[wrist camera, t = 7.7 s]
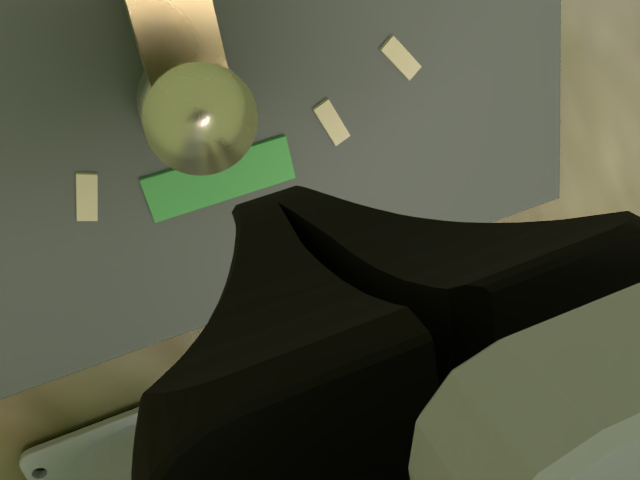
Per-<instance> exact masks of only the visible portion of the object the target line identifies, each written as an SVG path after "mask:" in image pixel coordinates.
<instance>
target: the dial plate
mask: <svg viewBox="0 0 640 480" xmlns="http://www.w3.org/2000/svg"><path fill="white" fill-rule="evenodd" d="M212 1H213V6H214V10H215V14H216V18H217V23H218V27H219V31H220V35H221V40H222V44H223V48H224V53H225V57H226V61H227V65H228V67H229V68H230V69H231V70H232V71H233V72H234V73H235V74H236V75H238V76H239V77H240V78H241V79H242V80H243V81H244V82H245V84H246V85H247V86H248V88H249V89H250V91H251V93H252V95H253V97H254V99H255V102H256V106H257V111H258V127H257V132H256V136H255V138H254V141H253V143H252V145H251V147H250V149H249V150H248V152H247V153H246V154H245V155H244V156H243V158H242V159H241V160H240V161H238V162H237V163H236V164H235V165H233V166H232V167H230V168H228V169H226V170H224V171H222V172H219V173H216V174H211V175H204V176H198V175H189V174H185V173H181V172H179V171H177V170H174V169H172V168H171V167H169V166H167V165H166V164H165V163H164V162H162V161H161V160H160V159H159V158H158V157H157V156H156V154H155V153H154V152H153V150H152V149H151V147H150V145H149V144H148V141H147V139H146V136H145V133H144V130H143V127H142V123H141V120H140V117H139V114H138V110H137V105H136V91H137V86H138V82H139V79H140V77H141V75H142V73H143V72H144V69H143V66H142V63H141V59H140V56H139V53H138V49H137V46H136V43H135V39H134V36H133V33H132V30H131V26H130V23H129V20H128V16H127V13H126V10H125V6H124V3H123V0H0V399H3V398H6V397H8V396H11V395H14V394H17V393H20V392H22V391H25V390H28V389H31V388H33V387H36V386H39V385H42V384H44V383H47V382H50V381H53V380H56V379H58V378H61V377H64V376H67V375H69V374H72V373H75V372H78V371H81V370H83V369H86V368H89V367H92V366H94V365H97V364H100V363H103V362H105V361H108V360H111V359H114V358H117V357H119V356H122V355H125V354H128V353H130V352H133V351H136V350H139V349H142V348H144V347H147V346H150V345H153V344H155V343H158V342H161V341H164V340H167V339H169V338H172V337H175V336H178V335H180V334H183V333H186V332H189V331H191V330H194V329H197V328H200V327H203V326H205V325H207V323H208V321H209V319H210V317H211V315H212V313H213V312H214V310H215V308H216V306H217V304H218V302H219V299H220V297H221V294H222V292H223V289H224V287H225V284H226V281H227V278H228V274H229V270H230V266H231V262H232V258H233V253H234V245H235V236H236V225H235V222H234V218H233V215H232V211H233V209H234V207H235V206H236V205H237V204H240V203H243V202H246V201H249V200H253V199H256V198H259V197H262V196H265V195H268V194H271V193H274V192H277V191H280V190H283V189H287V188H290V187H293V186H296V185H297V186H302V187H306V188H309V189H313V190H316V191H319V192H322V193H325V194H328V195H331V196H334V197H337V198H340V199H343V200H347V201H350V202H353V203H357V204H360V205H364V206H367V207H371V208H375V209H379V210H383V211H388V212H392V213H397V214H401V215H407V216H413V217H420V218H427V219H435V220H443V221H455V222H477V223H491V222H494V221H497V220H499V219H502V218H505V217H508V216H510V215H513V214H516V213H519V212H522V211H524V210H527V209H530V208H533V207H535V206H538V205H541V204H544V203H546V202H549V201H552V200H555V199H558V198H559V182H560V41H561V0H212Z"/></svg>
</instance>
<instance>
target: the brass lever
mask: <svg viewBox="0 0 640 480" xmlns="http://www.w3.org/2000/svg"><path fill="white" fill-rule="evenodd" d="M123 3H124V6H125V10H126V13H127V16H128V20H129V23H130V26H131V30H132V33H133V36H134V39H135V43H136V46H137V49H138V53H139V56H140V59H141V63H142V66H143V69H144V72H143V73H142V75H141V77H140V79H139V82H138V86H137V91H136V105H137V110H138V114H139V117H140V120H141V123H142V127H143V130H144V133H145V136H146V139H147V141H148V144H149V145H150V147H151V149H152V150H153V152H154V153H155V154H156V156H157V157H158V158H159V159H160V160H161V161H162V162H164V163H165V164H166V165H167V166H169V167H171V168H172V169H174V170H177V171H179V172H181V173H185V174H189V175H198V176H204V175H211V174H216V173H219V172H222V171H224V170H226V169H228V168H230V167H232V166H233V165H235V164H236V163H237V162H238V161H240V160H241V159H242V158H243V156H244V155H245V154H246V153H247V152H248V150H249V149H250V147H251V145H252V143H253V141H254V138H255V136H256V132H257V127H258V111H257V106H256V102H255V99H254V97H253V95H252V93H251V91H250V89H249V88H248V86H247V85H246V84H245V82H244V81H243V80H242V79H241V78H240V77H239V76H238V75H236V74H235V73H234V72H233V71H232V70H231V69H230V68H229V67H228V65H227V61H226V57H225V53H224V48H223V44H222V40H221V35H220V31H219V27H218V23H217V18H216V14H215V10H214V6H213V1H212V0H123Z"/></svg>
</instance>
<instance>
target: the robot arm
mask: <svg viewBox="0 0 640 480" xmlns="http://www.w3.org/2000/svg"><path fill="white" fill-rule="evenodd" d="M232 215H233V218H234V222H235V225H236V236H235V245H234V253H233V258H232V262H231V266H230V270H229V274H228V278H227V281H226V284H225V287H224V289H223V292H222V294H221V297H220V299H219V302H218V304H217V306H216V308H215V310H214V312H213V313H212V315H211V317H210V319H209V321H208V323H207V325H206V326H205V328H204V330H203V331H202V332H201V334H200V335H199V336H198V338H197V339H196V340H195V342H194V343H193V344H192V345H191V347H190V348H189V349H188V350H187V351H186V353H185V354H184V355H183V356H182V357H181V358H180V359H179V360H178V361H177V362H176V363H175V364H174V365H173V366H172V367H171V368H170V369H169V370H168V371H167V372H166V373H165V374H164V375H163V376H162V377H161V378H160V379H159V380H158V381H156V382H155V383H154V384H153V385H152V386H151V387H150V388H149V389H148V390H146V391H145V392H144V393H143V395H142V397H141V400H140V405H139V407H137V408H134V409H132V410H129V411H126V412H124V413H121V414H119V415H116V416H113V417H111V418H108V419H105V420H103V421H100V422H97V423H95V424H92V425H90V426H87V427H84V428H82V429H79V430H76V431H74V432H71V433H68V434H66V435H63V436H61V437H58V438H55V439H53V440H50V441H47V442H45V443H42V444H40V445H37V446H34V447H32V448H29V449H27V450H25V451H24V452H23V453H22V454H21V456H20V461H19V466H20V469H21V471H22V472H23V474H24V475H25V477H26V479H27V480H640V217H639V216H637V215H635V214H633V213H631V212H629V211H624V212H616V213H609V214H601V215H594V216H587V217H579V218H572V219H564V220H553V221H537V222H521V223H477V222H455V221H443V220H435V219H427V218H420V217H413V216H407V215H401V214H397V213H392V212H388V211H383V210H379V209H375V208H371V207H367V206H364V205H360V204H357V203H353V202H350V201H347V200H343V199H340V198H337V197H334V196H331V195H328V194H325V193H322V192H319V191H316V190H313V189H309V188H306V187H302V186H297V185H296V186H293V187H290V188H287V189H283V190H280V191H277V192H274V193H271V194H268V195H265V196H262V197H259V198H256V199H253V200H249V201H246V202H243V203H240V204H237V205H236V206H235V207H234V209H233V211H232ZM37 468H44V470H42V471H36V470H35V469H37Z"/></svg>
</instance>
